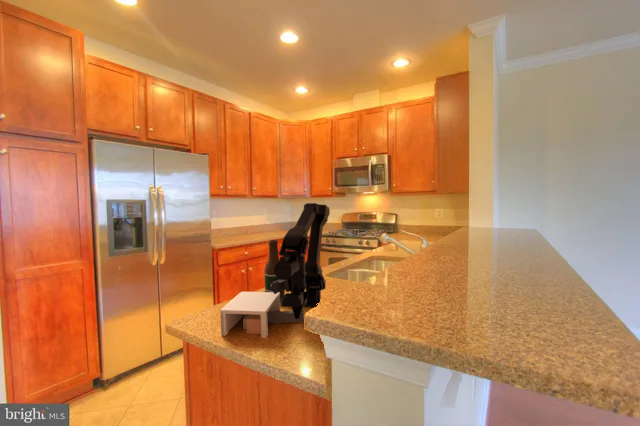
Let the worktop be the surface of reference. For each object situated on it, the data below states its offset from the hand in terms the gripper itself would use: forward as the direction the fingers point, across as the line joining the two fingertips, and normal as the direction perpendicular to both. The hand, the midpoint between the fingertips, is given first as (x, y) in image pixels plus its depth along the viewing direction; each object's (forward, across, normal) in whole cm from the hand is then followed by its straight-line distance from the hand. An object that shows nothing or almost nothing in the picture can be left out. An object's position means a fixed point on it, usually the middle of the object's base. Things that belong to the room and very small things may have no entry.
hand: (297, 317), depth 95 cm
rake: (+1, +3, -7) cm, 8 cm away
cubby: (+1, +4, -14) cm, 15 cm away
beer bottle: (+2, -18, -13) cm, 22 cm away
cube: (+1, +7, -12) cm, 14 cm away
